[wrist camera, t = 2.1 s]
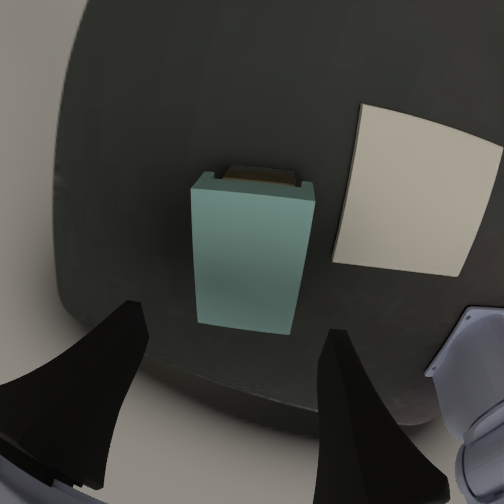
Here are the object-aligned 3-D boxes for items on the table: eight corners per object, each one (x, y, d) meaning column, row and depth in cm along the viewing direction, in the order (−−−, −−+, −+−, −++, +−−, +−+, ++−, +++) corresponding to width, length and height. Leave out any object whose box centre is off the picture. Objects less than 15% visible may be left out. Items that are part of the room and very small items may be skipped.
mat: (454, 272, 19) (457, 276, 19) (331, 256, 20) (332, 262, 19) (498, 145, 14) (503, 147, 13) (360, 103, 14) (363, 104, 14)
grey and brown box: (281, 270, 21) (278, 310, 18) (228, 263, 21) (215, 302, 18) (295, 169, 17) (295, 196, 14) (231, 163, 17) (215, 187, 14)
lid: (290, 307, 19) (289, 335, 17) (207, 296, 19) (198, 322, 17) (312, 182, 14) (315, 201, 12) (204, 171, 14) (190, 188, 13)
